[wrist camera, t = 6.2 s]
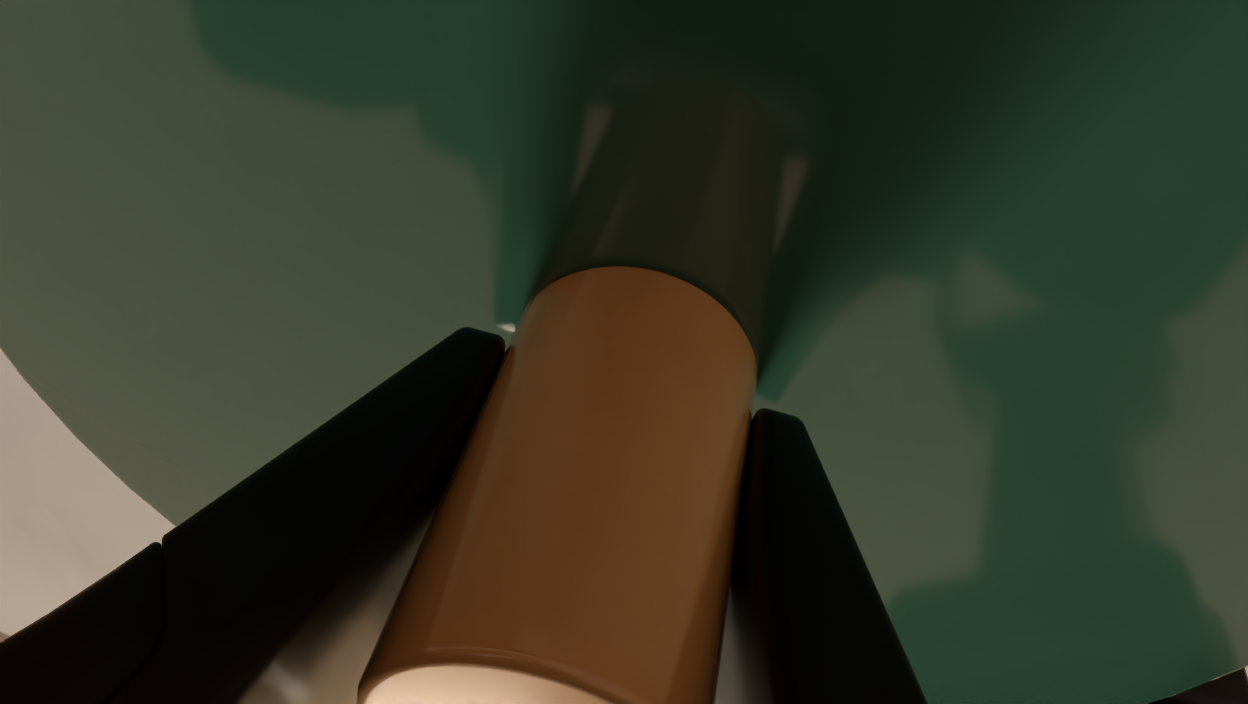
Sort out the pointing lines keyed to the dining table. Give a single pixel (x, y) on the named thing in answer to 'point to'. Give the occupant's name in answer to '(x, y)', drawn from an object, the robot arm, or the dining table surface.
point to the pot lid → (675, 307)
